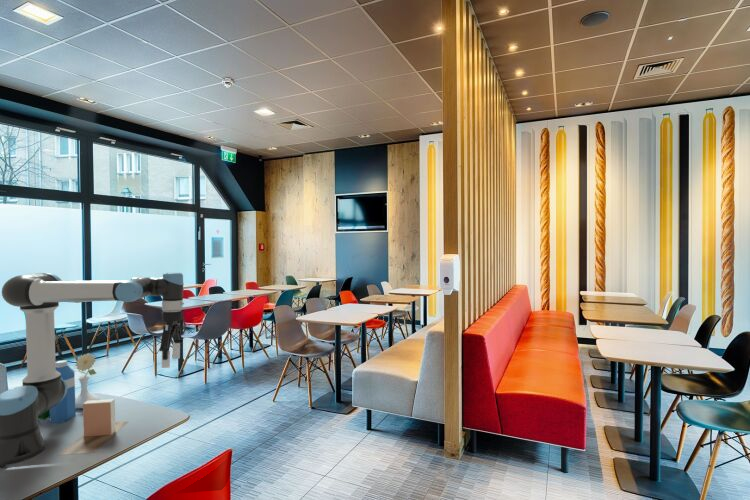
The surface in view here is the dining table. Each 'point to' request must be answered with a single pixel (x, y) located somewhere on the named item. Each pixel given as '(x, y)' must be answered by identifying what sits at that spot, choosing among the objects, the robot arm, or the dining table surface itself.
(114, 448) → the dining table surface
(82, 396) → the flower in vase
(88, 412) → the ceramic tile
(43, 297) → the robot arm
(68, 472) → the dining table surface
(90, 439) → the walnut board
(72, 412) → the water bottle
